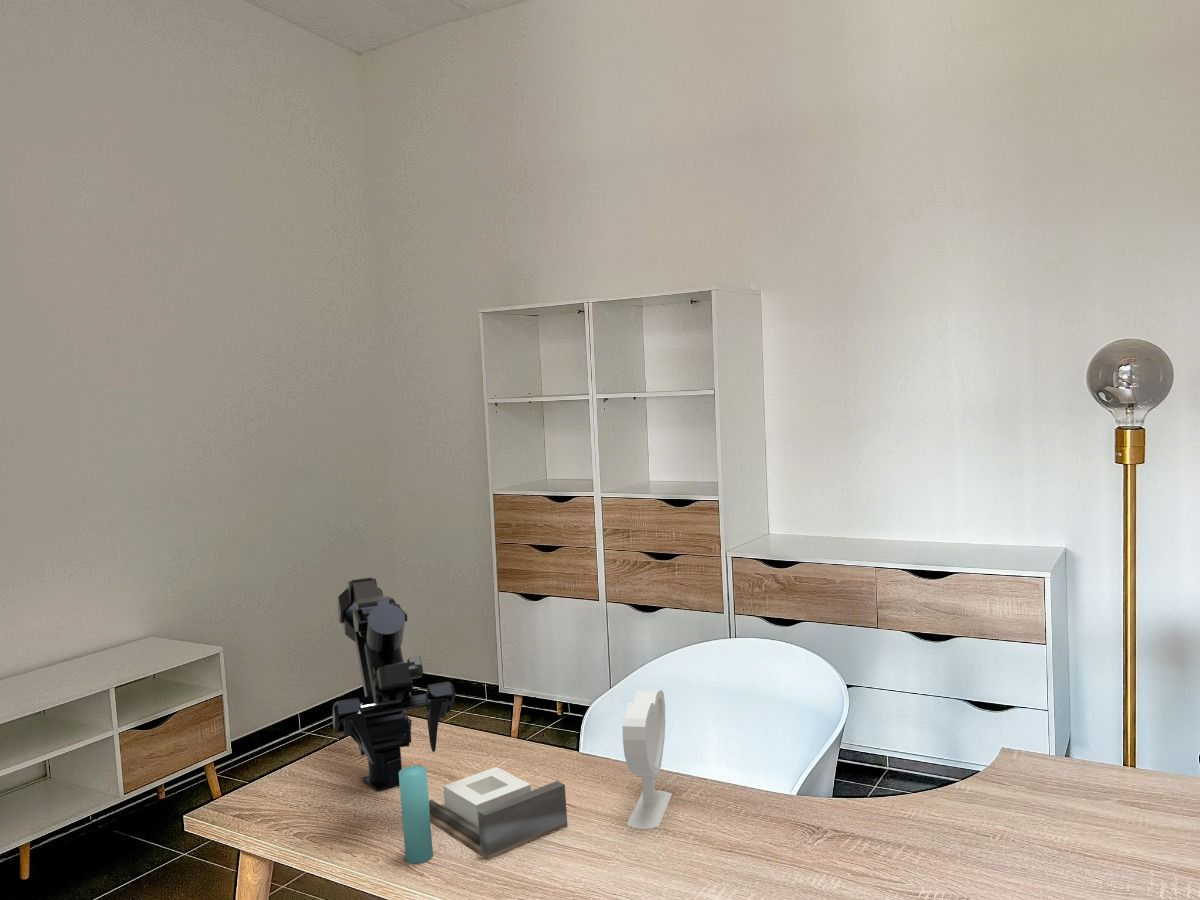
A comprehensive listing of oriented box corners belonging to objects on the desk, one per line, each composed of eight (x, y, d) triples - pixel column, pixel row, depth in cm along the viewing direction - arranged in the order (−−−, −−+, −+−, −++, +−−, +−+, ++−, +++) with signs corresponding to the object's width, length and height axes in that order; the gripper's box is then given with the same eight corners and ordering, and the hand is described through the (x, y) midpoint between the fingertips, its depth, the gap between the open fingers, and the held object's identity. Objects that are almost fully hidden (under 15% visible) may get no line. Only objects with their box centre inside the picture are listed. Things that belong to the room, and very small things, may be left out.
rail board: (422, 815, 155) (418, 776, 154) (497, 787, 164) (494, 750, 163) (488, 859, 139) (485, 815, 139) (567, 826, 148) (564, 784, 148)
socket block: (445, 814, 153) (443, 785, 153) (498, 794, 159) (496, 766, 159) (478, 835, 145) (476, 805, 145) (532, 813, 152) (530, 784, 151)
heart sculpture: (656, 832, 144) (649, 716, 143) (623, 830, 145) (616, 715, 144) (674, 788, 159) (668, 682, 158) (644, 787, 160) (638, 681, 159)
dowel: (400, 856, 142) (393, 771, 141) (424, 847, 144) (418, 763, 143) (413, 866, 139) (406, 779, 138) (437, 856, 141) (431, 770, 140)
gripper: (328, 651, 147) (343, 745, 137) (448, 632, 154) (470, 720, 144) (327, 687, 155) (341, 778, 145) (441, 667, 161) (461, 753, 152)
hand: (404, 756), depth 146 cm, fingers open, 9 cm apart
